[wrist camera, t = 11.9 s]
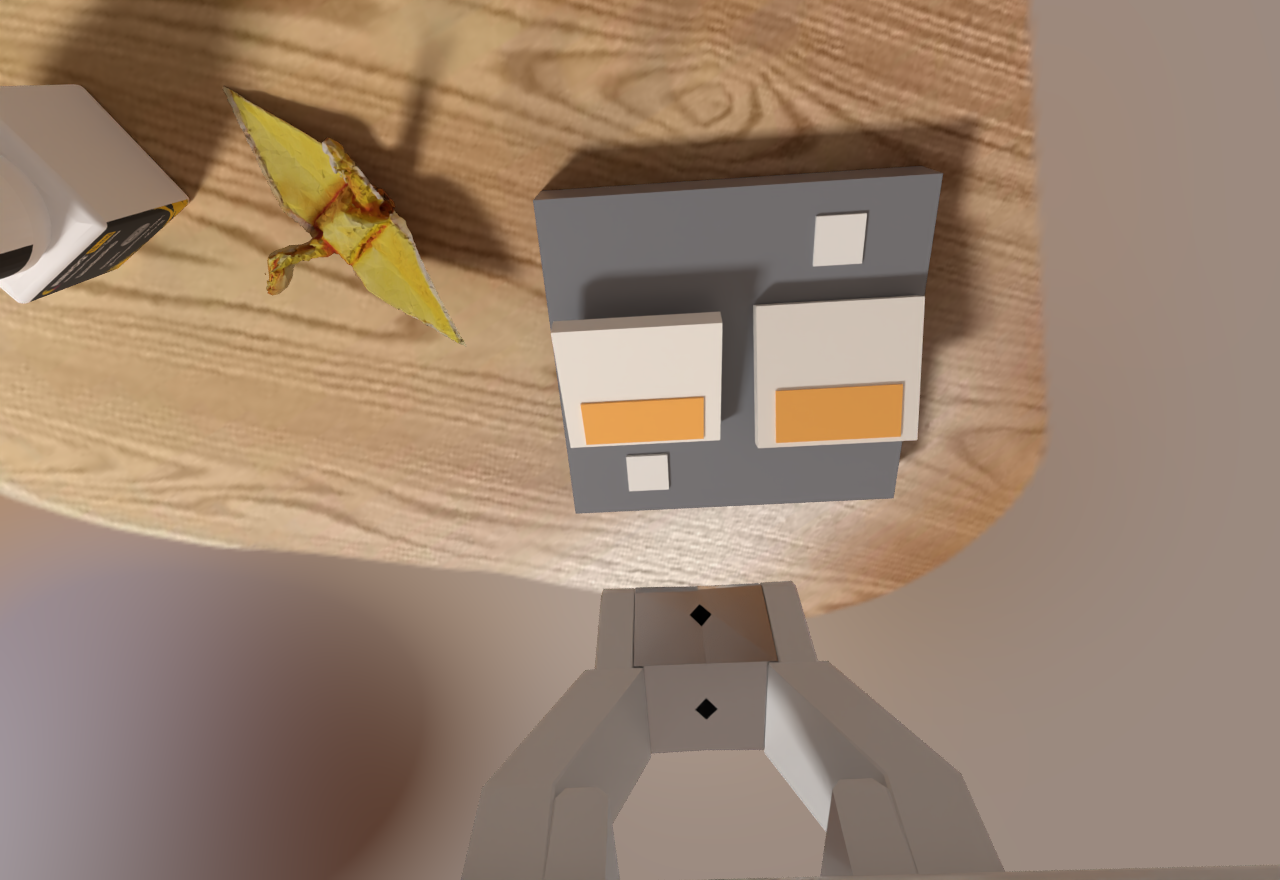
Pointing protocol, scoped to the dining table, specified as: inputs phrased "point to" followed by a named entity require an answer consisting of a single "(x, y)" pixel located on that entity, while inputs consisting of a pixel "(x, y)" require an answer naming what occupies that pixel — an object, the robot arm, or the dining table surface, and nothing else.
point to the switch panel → (733, 312)
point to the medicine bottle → (72, 191)
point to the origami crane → (339, 216)
